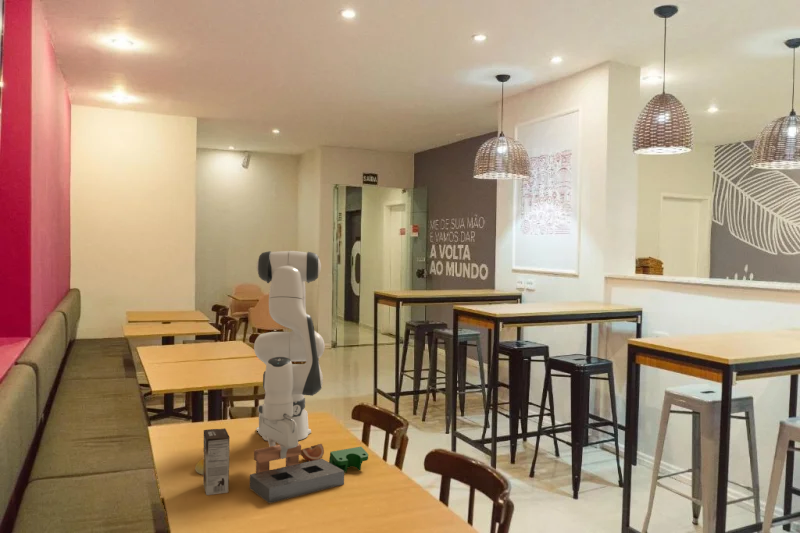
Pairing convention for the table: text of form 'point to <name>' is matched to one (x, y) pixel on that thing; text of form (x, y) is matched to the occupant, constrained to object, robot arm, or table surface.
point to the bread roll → (200, 467)
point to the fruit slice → (313, 452)
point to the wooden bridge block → (275, 456)
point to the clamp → (348, 458)
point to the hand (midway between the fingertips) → (277, 455)
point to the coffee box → (216, 461)
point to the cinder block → (296, 480)
